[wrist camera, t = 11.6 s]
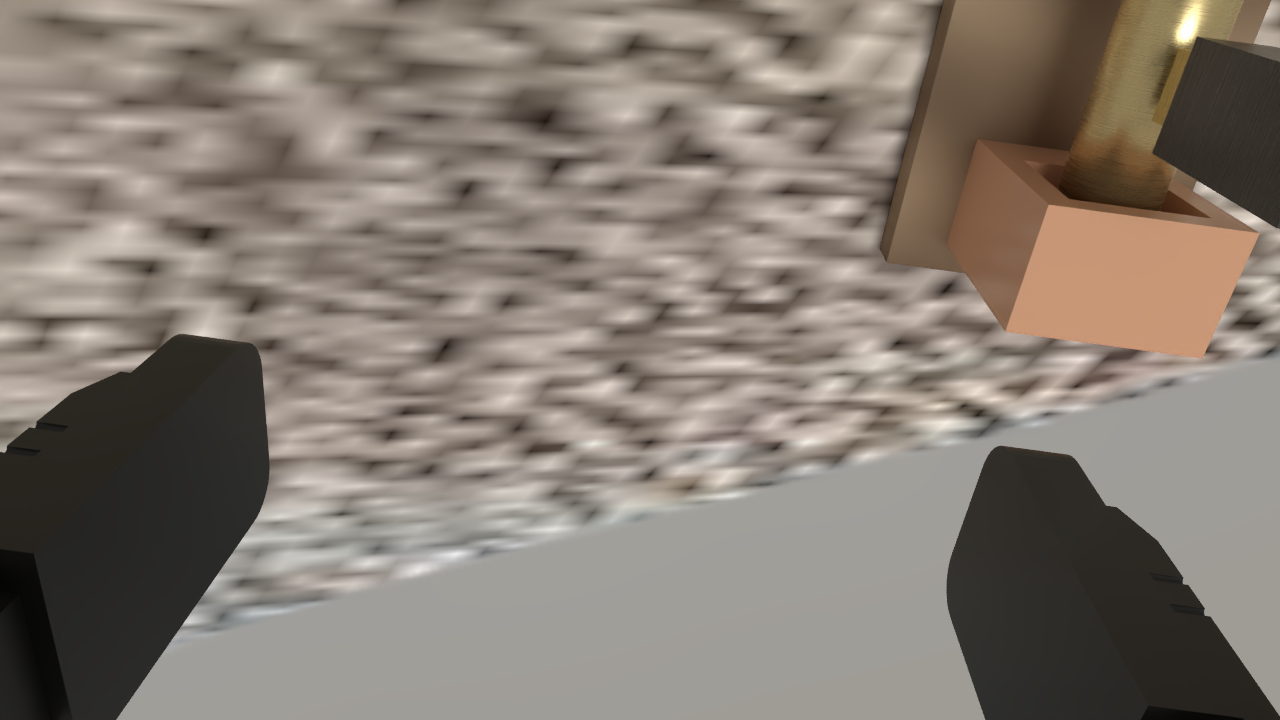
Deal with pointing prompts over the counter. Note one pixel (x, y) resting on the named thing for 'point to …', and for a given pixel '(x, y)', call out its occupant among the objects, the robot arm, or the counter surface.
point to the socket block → (1094, 256)
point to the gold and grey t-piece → (1179, 111)
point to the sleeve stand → (1000, 103)
